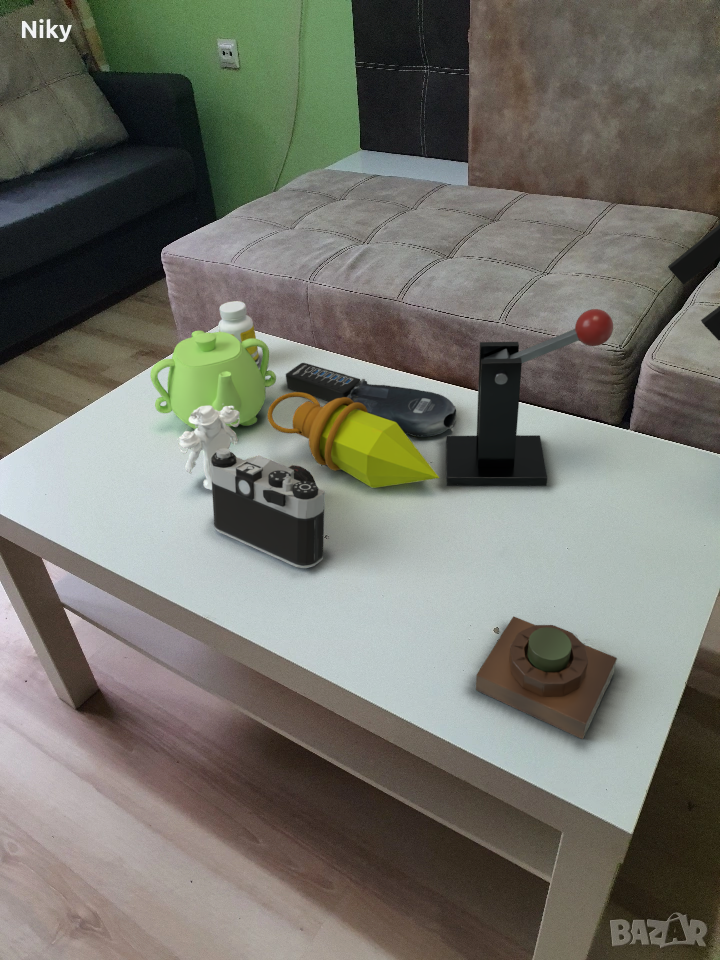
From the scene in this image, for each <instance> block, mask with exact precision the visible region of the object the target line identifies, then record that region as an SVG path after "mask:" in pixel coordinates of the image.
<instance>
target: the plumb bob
mask: <svg viewBox="0 0 720 960" xmlns="http://www.w3.org/2000/svg"><path fill="white" fill-rule="evenodd" d="M292 398H304V399H306V400H307V401H304V402H303V403H301V404H300V405H299V406H298V407H297V408H296V410H295V411H294V413H293V416H292V428H289V427H288V428H287V427H284V426H281V425H279V424H278V423H276V422H275V420H274V417H273V413H274V410H275V408H276V406H278V405H279V404H280V403H281V402H283V401H285V400H287V399H292ZM308 400H309V401H308ZM358 409H359V410H358ZM267 420H268V423H269V424H270V426H271V427H272V428H273V429H274V430H276V431H278V432H279V433H284V434H297V435H299V436H302V437H304V438H307V439H308V446H309V449H310V453H311V456H312V457H313V459H314V460H315V462H316V463H318V464H319V465H322V466H327V467H328V469H330V470H332V471H341V470H342V471H343V472H345V473H346V474H348V475H350V476H352V477H353V478H354V479H357V480H358V481H360V482H362V483H363V484H365V485H366V486H368V487H370V488H372V489H376V488H383V487H390V486H397V485H404V484H410V483H416V482H424V481H429V480H437V479H440V476H439V475H438V474H437V473H436V471H435V470H434V468H433V467H432V466H431V465H430V463H429V462H428V461H427V460H426V459H425V457H424V456H423V454H422V453H421V452H420V451H419V449H418V448H417V447H416V446H415V444H414V443H413V442H412V441H411V439H410V438H409V437H408V436H407V434H405V433H404V432H403V430H402V429H401V428H400V427H399V425H398V424H397V423H396V422H394V421H391V420H388V419H385V418H382V417H379V416H376V415H373V414H370V413H368V412H367V409H366V407H365V406H364V405H363V404H362V403H359V402H355V403H354V402H353V401H352V400H351V399H350V398H347V397H342V398H337V399H334V400H332V401H330V402H329V401H327V403H325V404H324V405H323V406H321V404H320V401H319V400H318V399H317V397H313V396H312V395H310V394H307V393H302V392H298V391H294V392H293V391H292V392H288V393H284V394H282V395H281V396H279V397H277V398H276V399H275V400H274V401H272V403H271V404H270V405H269V407H268V409H267Z"/></svg>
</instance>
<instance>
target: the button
mask: <svg viewBox="0 0 720 960" xmlns="http://www.w3.org/2000/svg"><path fill="white" fill-rule="evenodd" d="M570 653H571V641H570V639H569V638H568V636H567V635H566V634H565V633H563V632H562V631H560V630H558V629H555V628H549V627H545V628H540V629H537V630H535V631H534V632H533V633H532V634H531V635H530V638H529V644H528V659H529V661H530V662H531V664H532V665H533V666H534V667H536V668H537V669H539V670H541V671H544V672H558V671H561V670H563V669H564V668H565V667H566V666H567V665H568V663H569V659H570Z"/></svg>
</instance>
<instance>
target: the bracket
mask: <svg viewBox="0 0 720 960" xmlns="http://www.w3.org/2000/svg"><path fill="white" fill-rule="evenodd" d="M504 349H507V350H508V353H509V355H512V354H515V353H517V352H520V343H519V341H480V342H479V358H478V383H477V384H478V386H477V414H476V435H446V436H445V451H446V452H445V453H446V454H445V455H446V458H445V461H446V462H445V464H446V465H445V466H446V469H445V470H446V472H445V473H446V474H445V475H446V478H445V479H446V480H445V481H446V483H445V484H446V487H451V486H452V487H461V486H462V487H547V486H548V473H547V467H546V462H545V455H544V450H543V444H542V440H541V435H534V434H533V435H530V434H529V435H527V434H526V435H521V434H520V435H519V434H518V421H519V407H520V391H521V381H522V380H521V378H522V368H523V367H522V366H523V363H522V361H521V358H512V359H484V358H485V357H487V356H490V355H492V354H494V353H497V352H499V351H502V350H504ZM517 434H518V435H517Z"/></svg>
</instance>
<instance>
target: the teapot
mask: <svg viewBox="0 0 720 960" xmlns="http://www.w3.org/2000/svg"><path fill="white" fill-rule="evenodd" d="M252 346H257V347H259V348H261V350H262V356H261V362H260V366H258V364H256V362H255V361H254V359H253V358H252V356H251V355H250V354H249V352H248V351H247V350H246V348H249V347H252ZM269 362H270V349H269V346H268V344H266V342H265V341H263V340H261V339H259V338H256V339H254V338H251V339H247V340H244V341H243V342H240V341H239V340H238V339H237V338H236V337H234V336H233V335H231V334H229V333H225V332H219V331H215V332H205V331H204V330H195V331H193V332H192V333H191V337H188V338H185V339H183V340H181V341H179V342H178V343H177V344H176V345H175V347H174V350H173V353H172V356H171V358H164V359H161V360H159V361H157V362H156V363H155V364H154V365H153V366H152V368H151V369H150V374H149V375H150V376H149V378H150V381H151V383H152V384H153V387H154V388H155V390H156V391H157V392H158V394H159V395H160V396H159V397H157V398H156V399H155V402H154V407H155V409H156V411H157V412H158V413H160V414H169V413H171V412H173V414H174V415H175V416H176V417H177V418H178V419H179V420H180V421H182V422H183V423H184V424H185V425H186V426H189V427H190V428H191V429H193V430H195V429H196V428H198V427H195V424H192V423H190V422H189V417H190V415H191V413H192V412H193V410H196V409H198V408H199V407H201V406H212V407H213V408H214V410H217V411H221V410H222V409H223V407H225V406H234V409H233V408H231V410H237V411H239V412H240V415H238V416H240V417H239V419H240V422H239V425H241V426H246V427H247V426H252V425H254V424H256V423H257V422H258V418H257V415H258V414H259V413H260V411H261V410H262V408H263V406H264V404H265V399H266V394H267V392H266V388H270V387H272V386H273V385H274V384H276V382H277V375H276V373H275V372H274V371H273V370H271V369H270V370H269V369H268V367H269ZM166 368H169V369H168V372H167V373H168V375H167V383H166V384H167V390H166V389H165V388H164V386H163V385H162V384H161V382H160V380H159V376H158V375H159V373H160V372H161V371H162V370H165V369H166ZM268 376H270V377H269V378H267V379H266V377H268ZM164 402H165V403H166V404H165V405H161V404H162V403H164ZM223 403H224V404H223ZM222 404H223V405H222ZM192 414H193V413H192ZM239 419H237V420H236V421H235V422H233V423H231V424H237V423H238V421H239ZM225 424H226V423H225ZM231 424H230V423H229V424H226V425H228V426H229V427H230V428H231V427H233V426H232V425H231Z"/></svg>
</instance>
